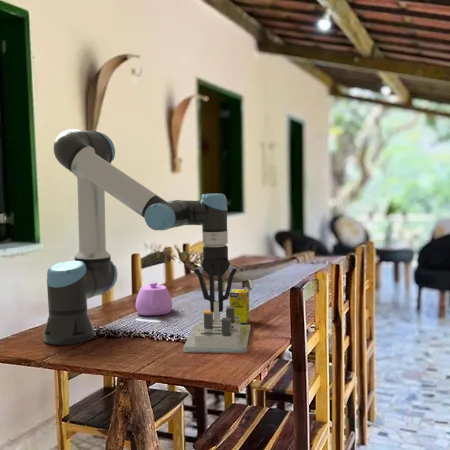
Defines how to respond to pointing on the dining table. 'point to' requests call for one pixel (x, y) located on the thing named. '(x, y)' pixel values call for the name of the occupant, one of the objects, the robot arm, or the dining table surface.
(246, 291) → the supplement box
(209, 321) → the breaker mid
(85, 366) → the dining table surface
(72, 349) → the dining table surface
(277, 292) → the dining table surface
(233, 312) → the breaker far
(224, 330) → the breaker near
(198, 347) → the panel
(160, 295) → the teapot
